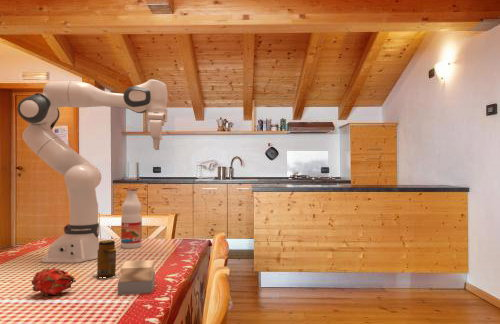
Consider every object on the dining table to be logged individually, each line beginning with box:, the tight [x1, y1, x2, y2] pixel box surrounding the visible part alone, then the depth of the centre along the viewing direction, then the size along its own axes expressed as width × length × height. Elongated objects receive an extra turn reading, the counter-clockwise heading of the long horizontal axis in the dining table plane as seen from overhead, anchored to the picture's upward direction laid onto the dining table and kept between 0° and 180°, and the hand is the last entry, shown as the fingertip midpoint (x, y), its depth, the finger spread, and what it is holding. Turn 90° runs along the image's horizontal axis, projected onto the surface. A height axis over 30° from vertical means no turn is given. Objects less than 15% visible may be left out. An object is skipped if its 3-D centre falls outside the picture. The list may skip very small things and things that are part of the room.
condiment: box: [92, 239, 121, 281], centre depth 130 cm, size 7×8×12 cm
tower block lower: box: [117, 271, 156, 296], centre depth 117 cm, size 10×10×4 cm
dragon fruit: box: [31, 267, 77, 297], centre depth 111 cm, size 8×8×12 cm
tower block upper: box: [119, 259, 155, 282], centre depth 117 cm, size 9×9×4 cm
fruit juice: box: [120, 187, 143, 249], centre depth 179 cm, size 9×9×28 cm
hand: (156, 149), depth 161 cm, fingers open, 8 cm apart
